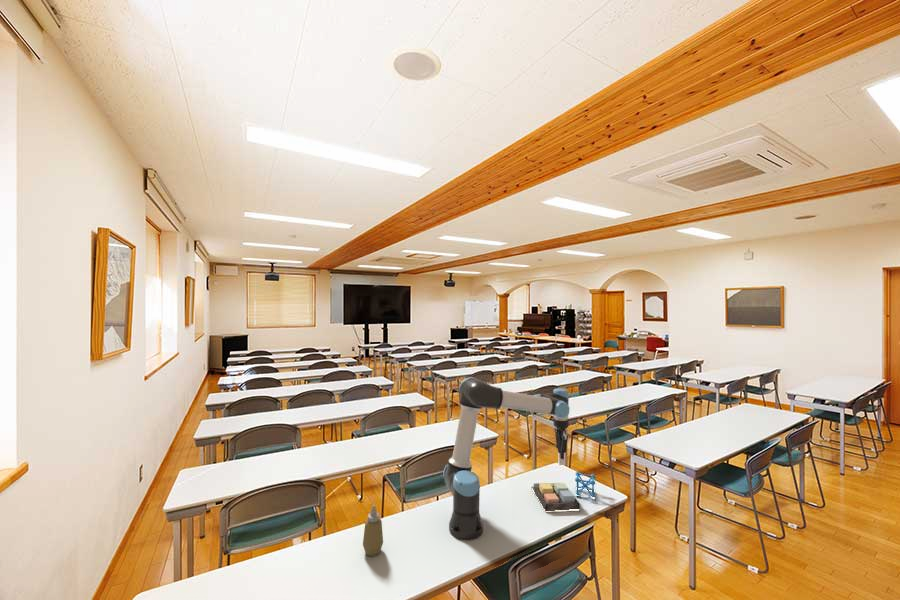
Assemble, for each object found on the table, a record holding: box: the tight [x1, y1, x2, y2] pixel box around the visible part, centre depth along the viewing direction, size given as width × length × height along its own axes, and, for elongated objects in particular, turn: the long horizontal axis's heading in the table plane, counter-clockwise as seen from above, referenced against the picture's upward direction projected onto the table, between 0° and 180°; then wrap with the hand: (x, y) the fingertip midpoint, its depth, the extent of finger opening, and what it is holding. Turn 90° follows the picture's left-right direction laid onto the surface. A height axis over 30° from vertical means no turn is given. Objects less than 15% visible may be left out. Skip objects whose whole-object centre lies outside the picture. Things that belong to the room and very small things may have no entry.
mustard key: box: [539, 482, 553, 495], centre depth 189 cm, size 6×6×3 cm
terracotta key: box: [544, 493, 559, 503], centre depth 181 cm, size 6×6×3 cm
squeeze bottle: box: [362, 504, 384, 557], centre depth 146 cm, size 8×8×18 cm
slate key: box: [560, 489, 576, 502], centre depth 181 cm, size 6×6×3 cm
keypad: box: [531, 482, 581, 512], centre depth 188 cm, size 17×23×4 cm
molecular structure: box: [574, 471, 596, 498], centre depth 194 cm, size 10×10×10 cm
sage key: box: [553, 482, 569, 494], centre depth 189 cm, size 6×6×3 cm
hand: (561, 464), depth 190 cm, fingers closed
